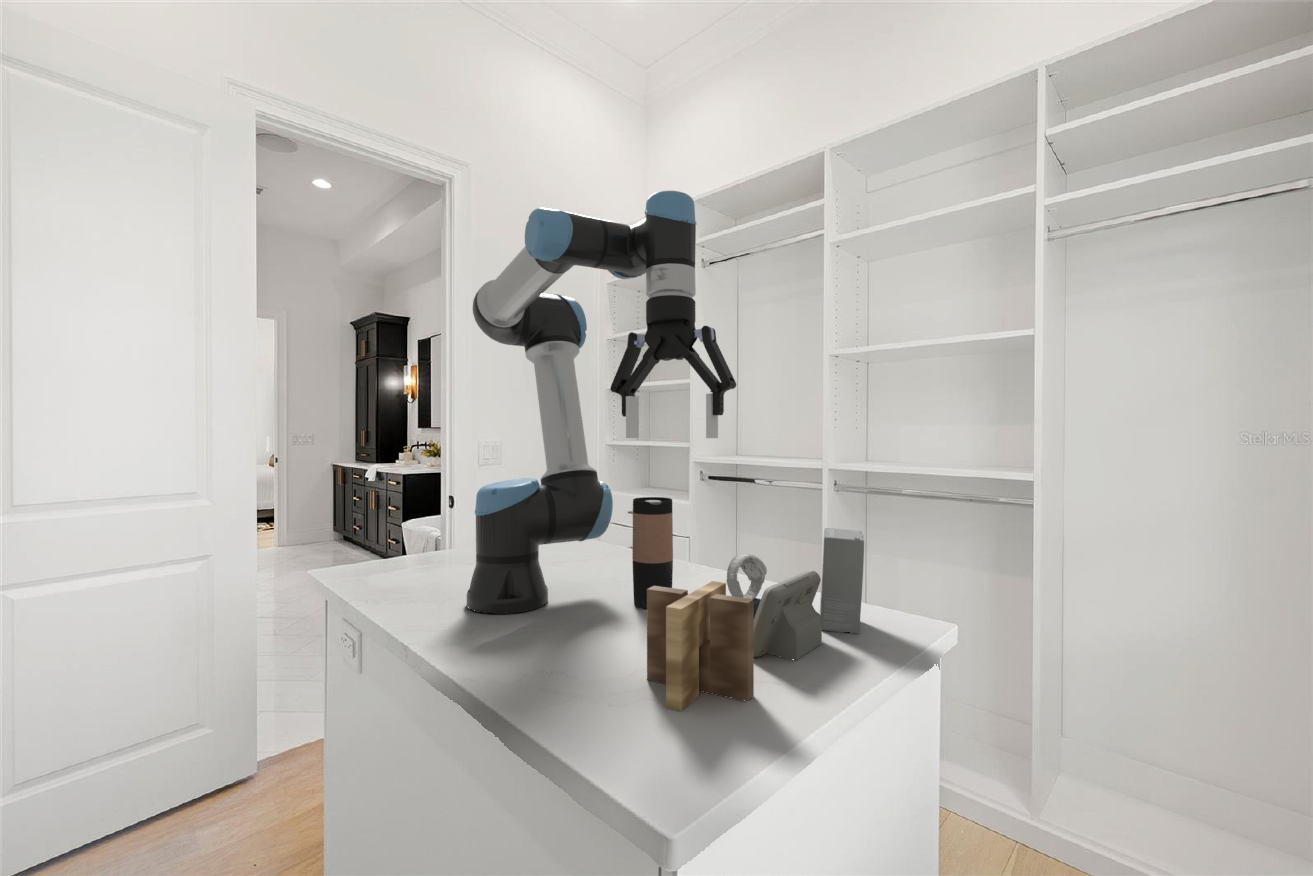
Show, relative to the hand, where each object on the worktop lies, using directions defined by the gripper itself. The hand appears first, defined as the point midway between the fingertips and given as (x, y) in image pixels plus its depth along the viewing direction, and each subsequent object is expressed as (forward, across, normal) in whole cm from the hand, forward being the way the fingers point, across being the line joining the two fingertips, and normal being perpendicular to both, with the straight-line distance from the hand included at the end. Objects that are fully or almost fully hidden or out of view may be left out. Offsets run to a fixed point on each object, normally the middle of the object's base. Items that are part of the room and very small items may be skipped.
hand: (670, 438), depth 93 cm
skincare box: (+32, +21, +22) cm, 44 cm away
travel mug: (+32, -13, +18) cm, 39 cm away
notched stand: (+32, +10, -12) cm, 35 cm away
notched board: (+32, +10, -12) cm, 35 cm away
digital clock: (+32, +15, +8) cm, 36 cm away
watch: (+32, +5, +19) cm, 37 cm away
